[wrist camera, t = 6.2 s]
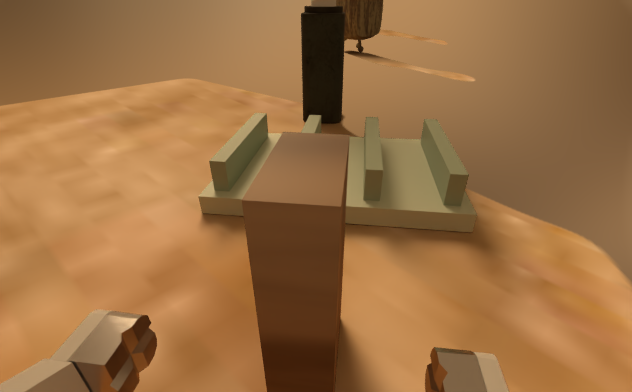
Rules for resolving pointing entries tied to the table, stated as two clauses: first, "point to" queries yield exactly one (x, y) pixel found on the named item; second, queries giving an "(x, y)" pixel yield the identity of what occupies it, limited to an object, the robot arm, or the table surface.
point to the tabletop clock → (361, 19)
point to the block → (299, 258)
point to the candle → (323, 60)
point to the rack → (360, 176)
